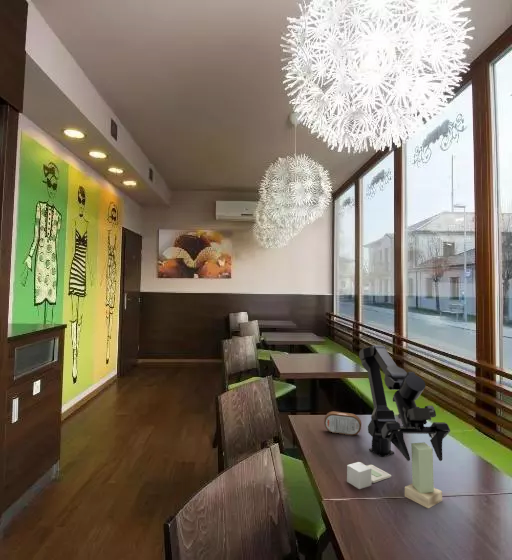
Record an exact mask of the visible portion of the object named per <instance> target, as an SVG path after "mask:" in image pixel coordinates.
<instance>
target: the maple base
mask: <svg viewBox="0 0 512 560" xmlns="http://www.w3.org/2000/svg"><path fill="white" fill-rule="evenodd" d="M404 497H405V498H407V499H409V500H411V501H412V502H415V503H417V504H419V505H421V506H422V507H424V508H426V509H430V508H432V507H433V506H436V505H438V504H439V503H441V502H443V490H441V489H438V488H435V487H434V492H429V493H419V492H418V490H417V489H416V488H415V487H414V486H413V483H412V482H411V483H410V484H408V485H406V486H404Z"/></svg>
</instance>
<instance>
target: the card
mask: <svg viewBox="0 0 512 560" xmlns="http://www.w3.org/2000/svg"><path fill="white" fill-rule="evenodd" d="M367 466H368V467H370V468H371V483H372V484H374V483H378V482H381V481H383V480H386V479H390V478H392V475H391V474H390V473H389V472H387V471H384V470H382V469H381V468H379V467H377V466H375V465H373V464H368V465H367Z"/></svg>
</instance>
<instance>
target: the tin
mask: <svg viewBox="0 0 512 560" xmlns="http://www.w3.org/2000/svg"><path fill="white" fill-rule="evenodd" d="M323 422H324V423H323V424H324V426H325V429H326V430H327V431H328V432H330V433H331V432H332V434H336V433H339V435H344V434H345V435H344V436H356V435H358V434H359V433H360V432H361V430H362V420H361V419H360V417H359V416H358V415H356V414H354V413H349V412H341V411H329V412H327V413H326V415H325V416H324V419H323Z"/></svg>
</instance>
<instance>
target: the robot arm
mask: <svg viewBox="0 0 512 560" xmlns="http://www.w3.org/2000/svg"><path fill="white" fill-rule="evenodd" d="M358 353H359V354H358V355H359V356H358V357H359V360H360V361H361V366H362V367H363V368H364V369H365V370H366V372H367V376H368V382H369V387H370V392H371V399H372V403H373V411H372V414H371V416H370V418H371V420H370V422H369V423H368V425H367V433H368V434H369V435H370V436H371V437H372V439H371V447H370V448H368V451H370V452H372V453H373V454H375V455H378V456H379V457H382V458H385V457H387V456H391V455H394V454H395V451H393V450H392V448H391V447H392V446H391V445H392V444H393V445H394V446H395V448H397V450H398V451H399V452H400V453H401V455H402V456H403V457H404V458H405V459H406V461H407V462H410V460H411V458H410V453H409V450H408V448H407V444H406V442H405V439H404V438H405V437H404V434H409V435H410V434H411V435H412V434H413V435H414V434H415V435H416V434H418V435H419V434H420V435H421V434H422V435H424V434H425V435H426V434H427V435H428V437H429V438H431V439H430V440H429V442H430V443H431V446H432V449H433V451H434V453H435V456H436V457H437V459H438V460H439V461H440V462H441V461H442V460H443V440H444V439H445V438H446V436H447V435H449V433H450V432H451V429H450V426H449V425H448V423H447V422H445V421H444V422H440V421H439V422H438V421H437V422H435V421H434V422H433V423H432V424H430V426H425V425H427V423H428V421H432V418H436V417H437V413H436V410H435V407H434V406H433V405H425V406H424V407H420V406H417V403H416V400H418V399H419V397H420V396H421V394H422V393H423V391H424V390H425V388H426V382H425V381H424V379H423V378H421V377H420V376H419V375H417V374H415V371H406V370H405V369H404V368H402V367H399V366H398V365H397V364H396V362H395V361H394V359H393V358H392V357H391V355H390V354H389V352H388V350H387V347H386V346H385V345H380V344H379V345H375V344H373V345H371V346H369V347H363V348H362V349H360V350H359V352H358ZM381 371H382V372H383V373H384V379H383V378H382V374H381ZM382 379H383V380H384V383H385V386H386V387H387V389H388V390H389V391H390V390H391V391H393V390H395V392H394V394H393V396H392V402H393V403H394V402H395V405H396V408H397V412H398V415H397V417H398V419H400V421H401V424H400V422H399V421H397V420H396V418H395V417H396V416H395V412H394V410H392V409H390V408H389V407H388V404H387V398H386V394H385V388H384V383H383V380H382ZM401 425H402V426H401Z"/></svg>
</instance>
